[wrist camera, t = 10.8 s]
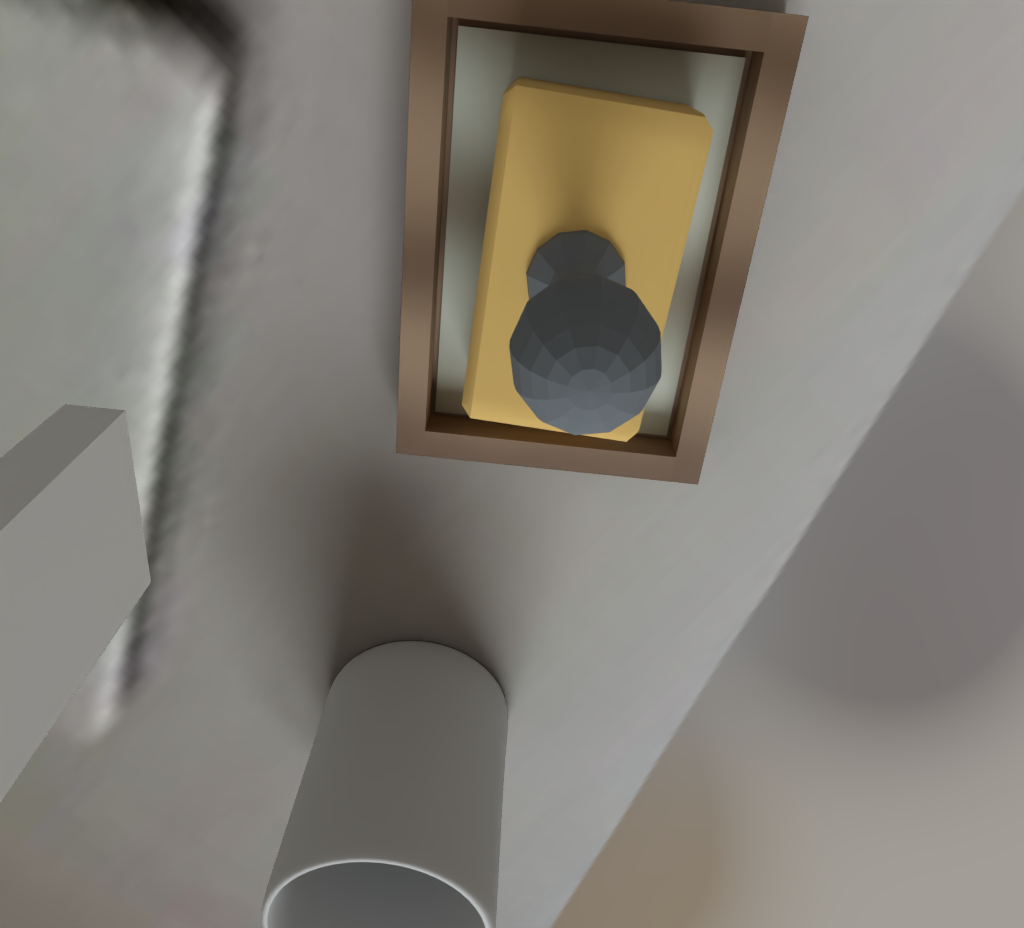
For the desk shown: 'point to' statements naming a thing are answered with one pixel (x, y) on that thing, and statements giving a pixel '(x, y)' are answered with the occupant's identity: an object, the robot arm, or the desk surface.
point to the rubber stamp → (581, 256)
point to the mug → (398, 798)
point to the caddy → (467, 182)
